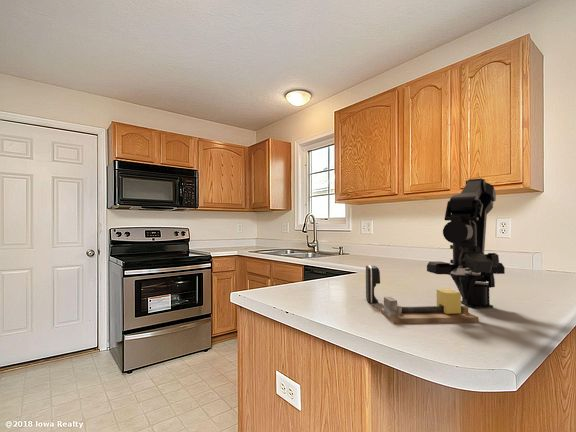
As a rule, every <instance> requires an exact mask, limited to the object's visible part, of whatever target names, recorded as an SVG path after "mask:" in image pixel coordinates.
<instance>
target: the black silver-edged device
mask: <svg viewBox="0 0 576 432" xmlns="http://www.w3.org/2000/svg"><path fill="white" fill-rule="evenodd" d="M378 284H381V272H380V269H379V267H377V266H376V265H369V264H368V265H366V266H365V299H366V300H367V303H370V304H375V303H376V304H377V303H378V304H379V300H378V298H377V297H376V296H375V287H377V285H378Z"/></svg>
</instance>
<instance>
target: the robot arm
mask: <svg viewBox="0 0 576 432" xmlns="http://www.w3.org/2000/svg"><path fill="white" fill-rule="evenodd" d="M496 193H497V192H496V190H495V187H494V185H493V184H490V183H488V182H487V181H486V179H485V178H482V177H481V178H470V179H468V180H465V185H464V187H463V189H462V190H461V192H460V193H458V194H454V195H452V196H451V197H450V198H449V200H448V201H447V203H446V204H447V205H446V208H445V214H444V221H446V222H447V221H448V222H447V223H446V224H445V225H444V226H443V228H442V236H443V237H444V239H445V240H446V241H448V243H451V244H450V245H449V249H452V259H449V260H450V261H449V262H446V261H441V260H440V261H439V260H438V261H428V263H427V265H426V272H428V273H431V274H435V275H448V276H450V277H451V278H452V280H453V282H454V284H455V286H456V287H457V289H458V292H459V293H461V304H463V305H464V306H467V307H470V308H473V309H474V308H477V309H478V308H494V305H492V304H490V303H491V302H490V288H495V287H496V285H495V284H496V281H495V280H496V279H495V275H501V274H502V275H503V274H504V275H505V274H506V271H505V269H506V268H505V265H504V264H503V263H502V262H500V260H499V259H500V258H499V254H498V253H497V252H496V253H495V252H488V253H487V254H485V247H486V233H487V232H486V231H487V230H486V229H487V220H488V219H487V218H488V217H487V215H488V214H489V213H490V212H491V211H492V210H493V208H494V202H496V201H497V195H496Z"/></svg>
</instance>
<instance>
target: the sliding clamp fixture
mask: <svg viewBox="0 0 576 432" xmlns="http://www.w3.org/2000/svg"><path fill="white" fill-rule="evenodd" d="M380 314H382V316H384V317H386V319H388V320H389V321H390V322H391V323H393V324H429V323H430V324H431V323H432V324H437V323H442V324H443V323H479V320H480V319H479V316H477V315H475V314H472V313H470V312H469V306H468V305H461V313H453V314H446V313H444V306H437V305H434V306H433V305H432V306H431V305H429V306H428V305H425V306H424V305H423V306H422V305H421V306H402V305H400V304H399V303H398V300H397V299H395V298H394V297H392V296H384V297H383V307H381V308H380Z"/></svg>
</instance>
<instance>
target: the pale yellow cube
mask: <svg viewBox="0 0 576 432" xmlns="http://www.w3.org/2000/svg"><path fill="white" fill-rule="evenodd" d="M461 301H462V296H461V293H460V292H459V291H456V290H453V289H451V288H449V289H447V288H445V289H436V306H444V313H446V314H453V313H461V306H462V303H461Z"/></svg>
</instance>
